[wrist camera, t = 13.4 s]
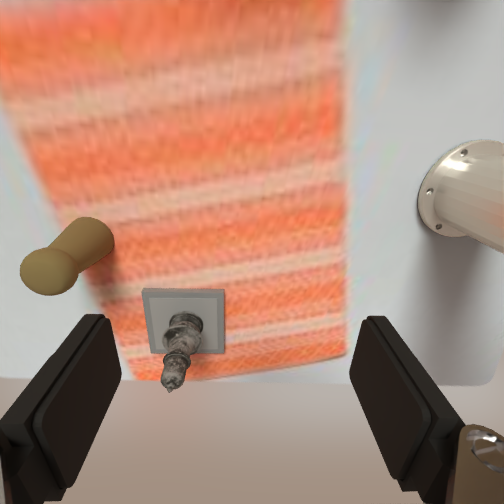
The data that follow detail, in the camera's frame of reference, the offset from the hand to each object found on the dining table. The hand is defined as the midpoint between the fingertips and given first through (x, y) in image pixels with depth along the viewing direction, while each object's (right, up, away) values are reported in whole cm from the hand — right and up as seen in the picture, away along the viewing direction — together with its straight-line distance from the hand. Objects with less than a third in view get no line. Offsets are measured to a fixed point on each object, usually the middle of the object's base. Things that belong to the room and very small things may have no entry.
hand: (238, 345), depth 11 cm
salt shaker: (-10, -8, +34) cm, 36 cm away
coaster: (-10, -7, +35) cm, 37 cm away
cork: (-21, +5, +28) cm, 36 cm away
